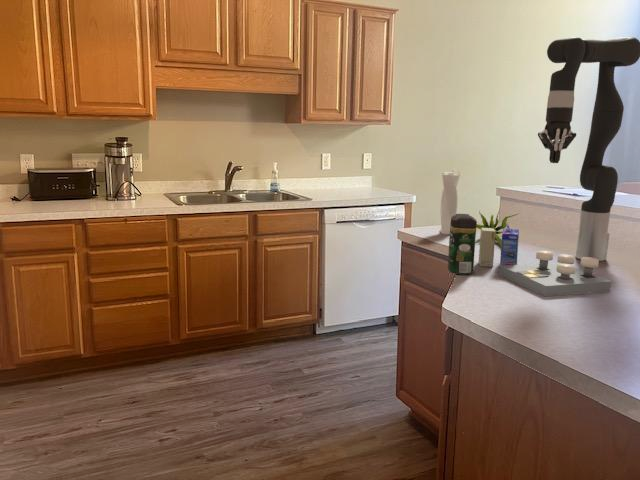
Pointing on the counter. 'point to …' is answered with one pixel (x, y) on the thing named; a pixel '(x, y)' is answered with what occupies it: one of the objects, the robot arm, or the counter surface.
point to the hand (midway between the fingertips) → (554, 162)
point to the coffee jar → (462, 244)
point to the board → (554, 280)
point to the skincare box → (487, 247)
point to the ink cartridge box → (509, 246)
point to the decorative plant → (494, 225)
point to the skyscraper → (448, 200)
